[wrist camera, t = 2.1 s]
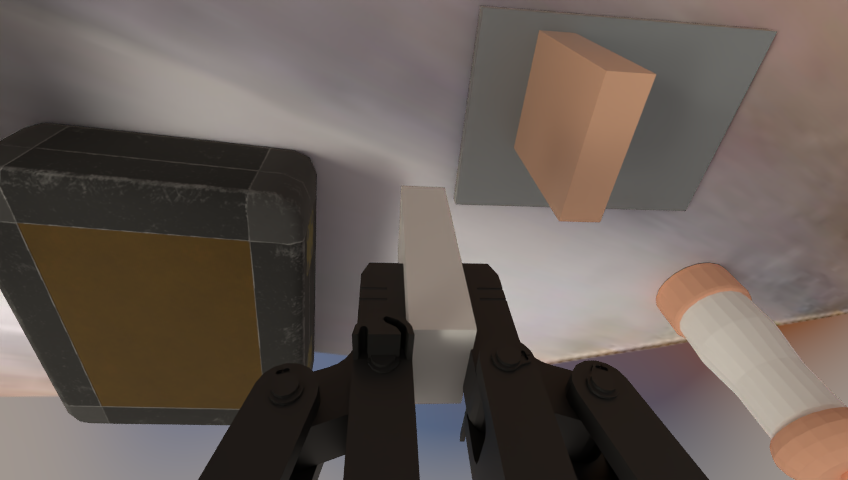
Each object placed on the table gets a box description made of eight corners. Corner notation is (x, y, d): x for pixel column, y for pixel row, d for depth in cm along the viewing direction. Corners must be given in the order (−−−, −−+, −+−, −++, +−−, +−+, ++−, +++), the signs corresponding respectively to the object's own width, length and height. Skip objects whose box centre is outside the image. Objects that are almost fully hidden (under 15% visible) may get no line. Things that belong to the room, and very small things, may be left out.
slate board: (453, 198, 35) (455, 204, 34) (480, 5, 27) (483, 7, 26) (678, 204, 37) (685, 211, 36) (766, 28, 29) (777, 31, 28)
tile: (513, 147, 32) (559, 221, 24) (539, 30, 27) (606, 70, 19) (548, 149, 32) (604, 222, 24) (578, 33, 27) (661, 74, 19)
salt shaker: (644, 314, 45) (781, 513, 30) (674, 261, 41) (852, 459, 26) (706, 315, 46) (871, 508, 31) (742, 263, 42) (953, 456, 26)
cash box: (11, 114, 29) (-92, 164, 22) (318, 149, 32) (302, 201, 26) (108, 356, 43) (62, 428, 37) (314, 363, 46) (303, 431, 40)
